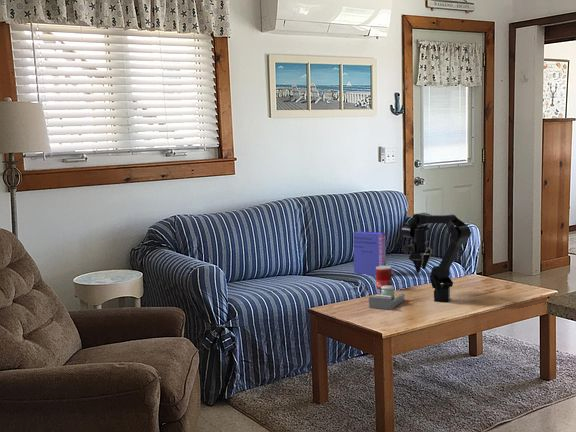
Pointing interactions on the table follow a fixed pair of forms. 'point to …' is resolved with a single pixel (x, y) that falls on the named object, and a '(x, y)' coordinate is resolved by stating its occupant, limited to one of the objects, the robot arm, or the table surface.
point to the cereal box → (368, 252)
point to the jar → (388, 291)
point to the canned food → (383, 276)
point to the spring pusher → (382, 296)
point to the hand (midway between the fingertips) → (420, 271)
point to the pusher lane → (385, 302)
